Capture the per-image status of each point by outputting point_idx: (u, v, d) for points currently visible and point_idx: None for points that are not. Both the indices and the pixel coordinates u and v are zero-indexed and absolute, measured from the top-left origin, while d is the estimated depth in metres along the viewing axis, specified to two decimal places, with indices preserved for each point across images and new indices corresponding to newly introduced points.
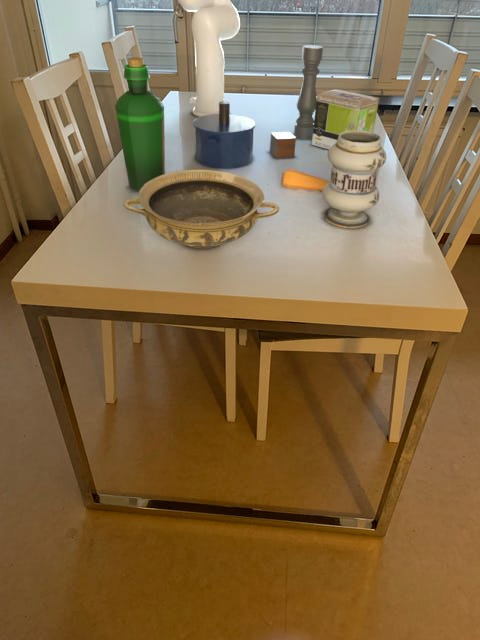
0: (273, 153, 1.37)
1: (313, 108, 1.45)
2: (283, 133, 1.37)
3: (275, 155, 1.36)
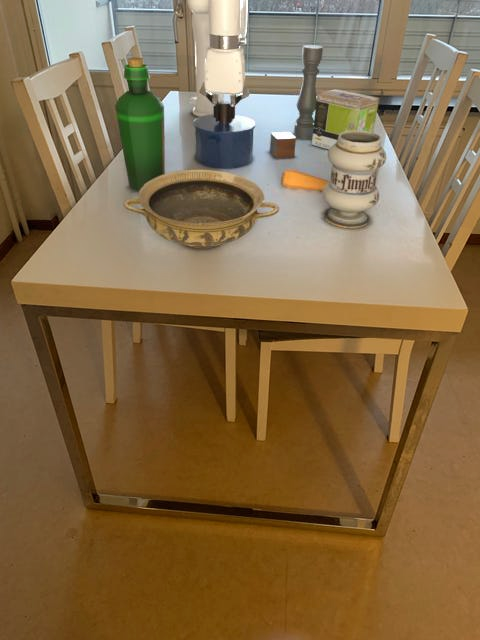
0: (273, 153, 1.37)
1: (313, 108, 1.45)
2: (283, 133, 1.37)
3: (275, 155, 1.36)
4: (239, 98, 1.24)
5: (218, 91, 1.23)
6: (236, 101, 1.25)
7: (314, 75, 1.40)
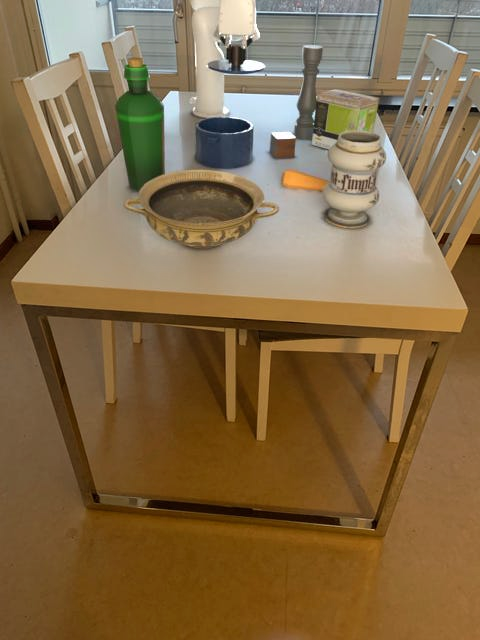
0: (273, 153, 1.37)
1: (313, 108, 1.45)
2: (283, 133, 1.37)
3: (275, 155, 1.36)
4: (250, 40, 1.35)
5: (231, 33, 1.33)
6: (247, 43, 1.36)
7: (314, 75, 1.40)
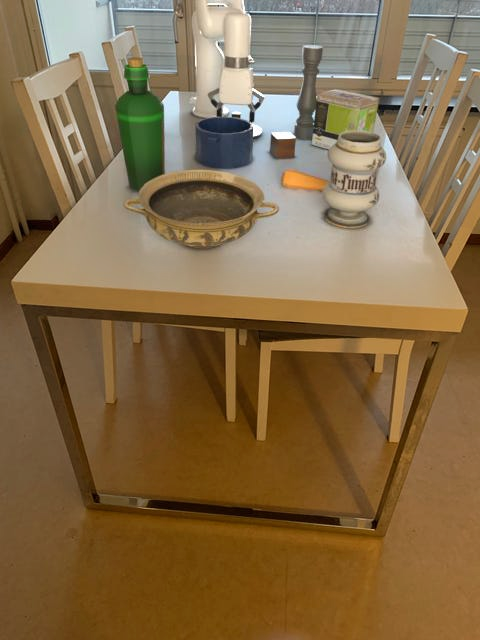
0: (273, 153, 1.37)
1: (313, 108, 1.45)
2: (283, 133, 1.37)
3: (275, 155, 1.36)
4: (258, 104, 1.46)
5: (230, 103, 1.46)
6: (254, 106, 1.47)
7: (314, 75, 1.40)
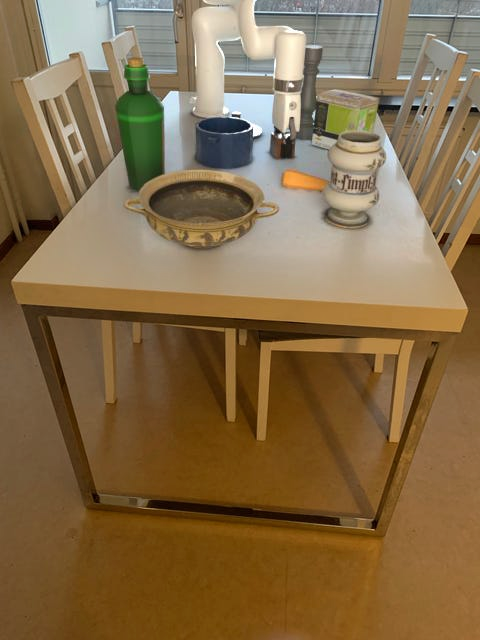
0: (273, 153, 1.37)
1: (313, 108, 1.45)
2: None
3: (275, 155, 1.36)
4: (287, 138, 1.30)
5: (275, 126, 1.34)
6: (286, 139, 1.32)
7: (314, 75, 1.40)
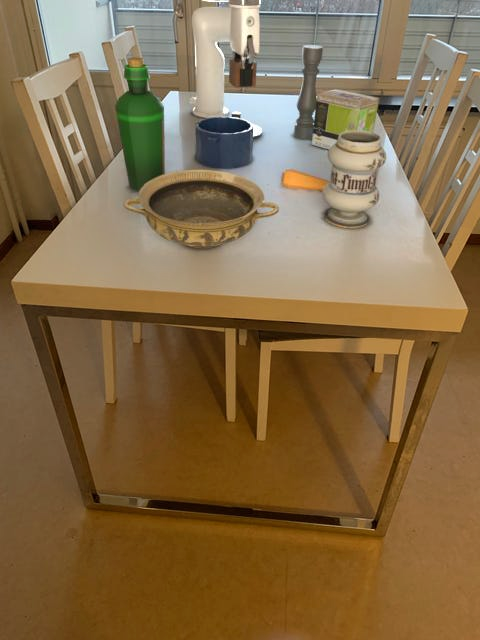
0: (232, 82, 1.23)
1: (313, 108, 1.45)
2: None
3: (234, 83, 1.22)
4: (246, 61, 1.16)
5: (233, 50, 1.20)
6: (245, 63, 1.18)
7: (314, 75, 1.40)
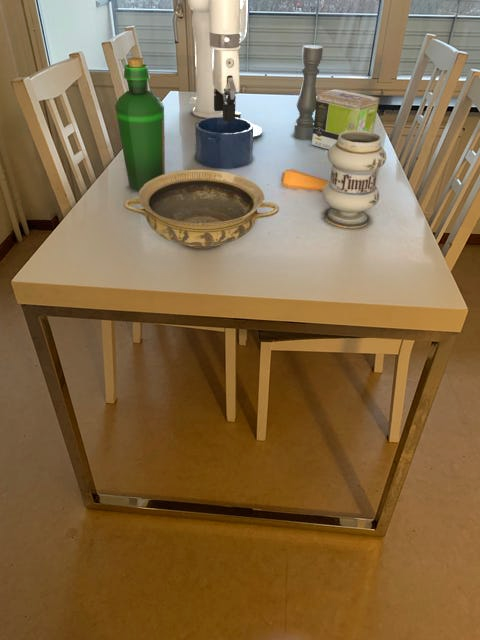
0: None
1: (313, 108, 1.45)
2: None
3: None
4: (228, 97, 1.19)
5: (215, 88, 1.25)
6: (227, 98, 1.21)
7: (314, 75, 1.40)
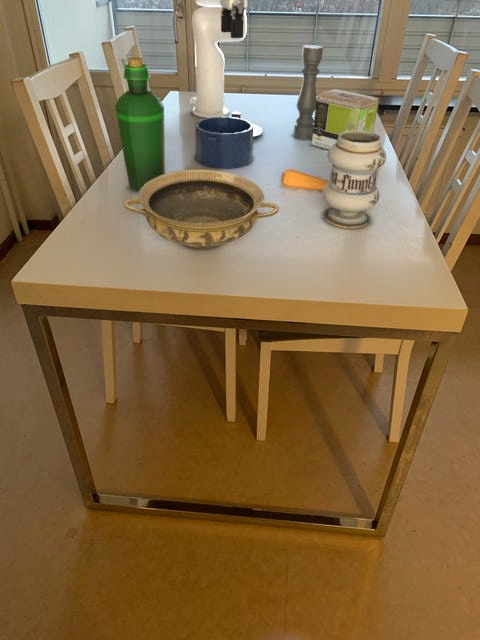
0: None
1: (313, 108, 1.45)
2: None
3: None
4: (236, 11, 1.19)
5: (223, 6, 1.25)
6: (235, 12, 1.21)
7: (314, 75, 1.40)
